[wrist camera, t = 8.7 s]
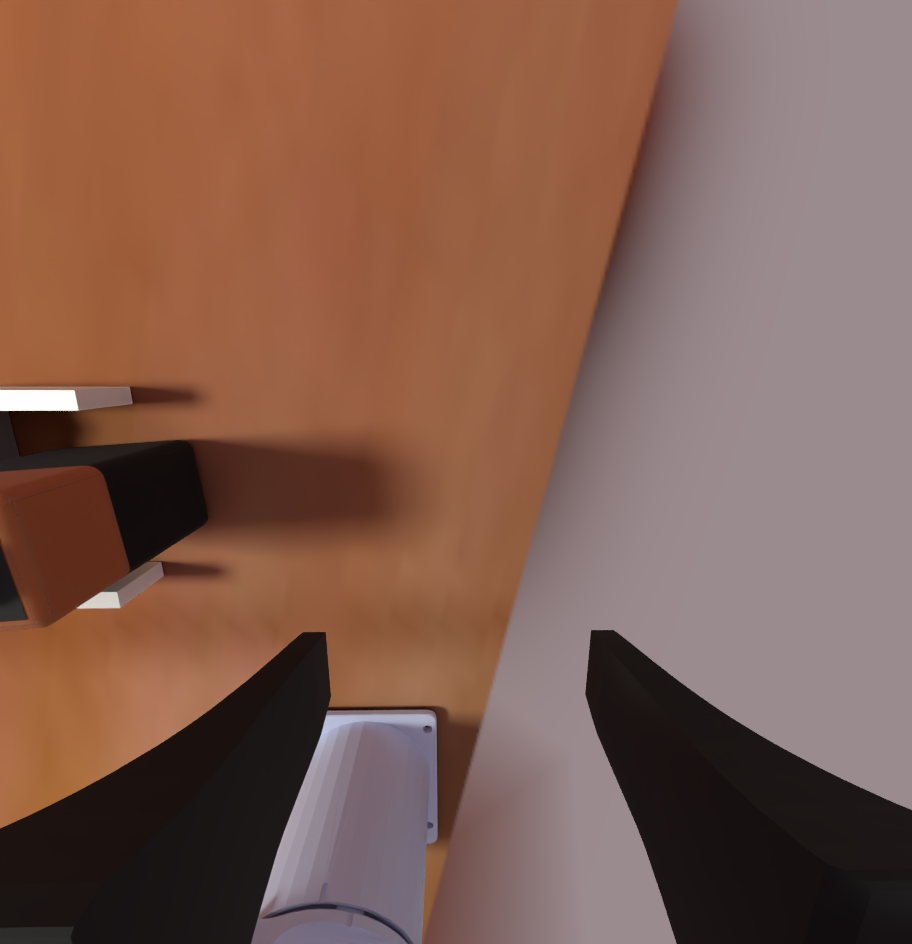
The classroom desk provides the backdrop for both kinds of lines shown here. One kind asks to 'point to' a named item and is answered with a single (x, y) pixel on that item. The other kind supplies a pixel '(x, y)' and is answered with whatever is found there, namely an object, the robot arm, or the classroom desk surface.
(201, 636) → the classroom desk surface
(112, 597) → the charging bay
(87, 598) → the battery
